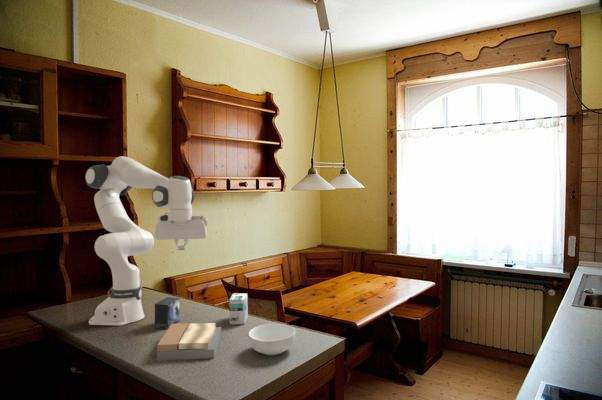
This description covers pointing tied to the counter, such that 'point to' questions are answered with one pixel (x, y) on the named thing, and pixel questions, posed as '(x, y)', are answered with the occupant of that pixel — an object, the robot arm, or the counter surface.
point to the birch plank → (197, 336)
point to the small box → (167, 312)
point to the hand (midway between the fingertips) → (181, 250)
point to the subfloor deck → (171, 351)
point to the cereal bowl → (272, 338)
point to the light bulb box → (238, 308)
